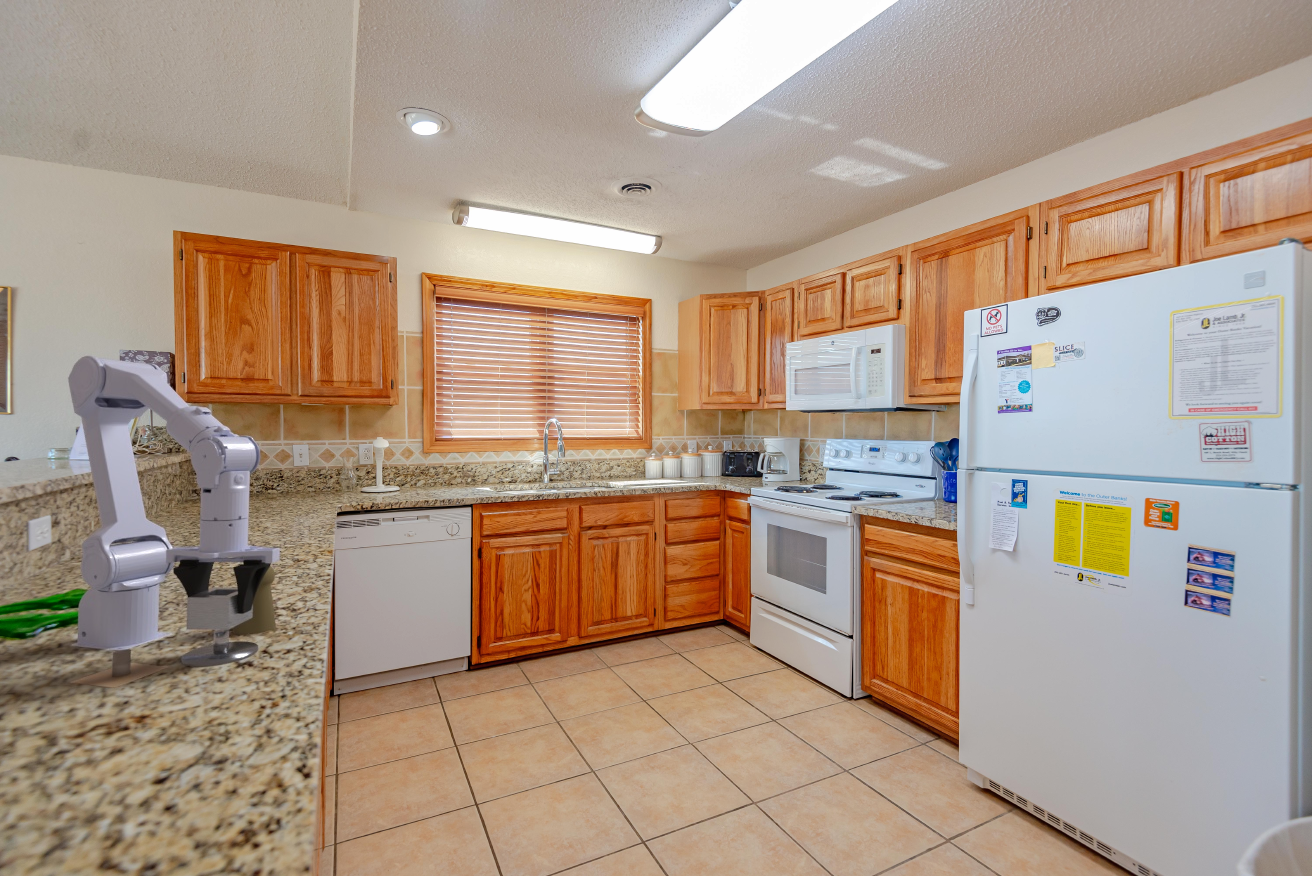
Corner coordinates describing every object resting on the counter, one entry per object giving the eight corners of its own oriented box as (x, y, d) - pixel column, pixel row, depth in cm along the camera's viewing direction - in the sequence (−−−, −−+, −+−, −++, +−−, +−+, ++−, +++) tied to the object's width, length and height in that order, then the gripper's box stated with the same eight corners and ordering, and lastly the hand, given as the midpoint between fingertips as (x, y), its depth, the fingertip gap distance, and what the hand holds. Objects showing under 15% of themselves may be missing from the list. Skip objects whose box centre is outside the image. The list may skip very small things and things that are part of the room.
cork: (254, 640, 94) (256, 571, 95) (222, 636, 96) (224, 568, 96) (285, 628, 100) (287, 563, 100) (255, 625, 102) (256, 561, 102)
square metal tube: (186, 629, 83) (187, 597, 83) (213, 617, 89) (214, 587, 89) (228, 629, 83) (229, 597, 83) (252, 617, 89) (253, 587, 89)
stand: (69, 686, 76) (70, 658, 76) (127, 666, 83) (127, 640, 83) (114, 692, 74) (115, 663, 74) (169, 671, 81) (169, 645, 81)
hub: (164, 667, 83) (165, 638, 83) (222, 645, 92) (222, 619, 92) (219, 673, 81) (220, 644, 81) (272, 650, 90) (273, 624, 90)
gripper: (150, 521, 82) (148, 620, 82) (261, 522, 83) (258, 619, 83) (186, 515, 89) (184, 606, 89) (288, 516, 90) (285, 605, 90)
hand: (222, 611), depth 86 cm, fingers closed on square metal tube, 6 cm apart
